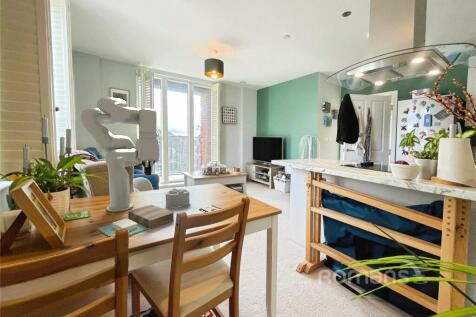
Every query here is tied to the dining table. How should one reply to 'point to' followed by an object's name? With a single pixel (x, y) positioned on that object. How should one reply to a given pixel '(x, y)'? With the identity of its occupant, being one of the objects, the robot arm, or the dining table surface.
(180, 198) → the lumpy-topped squat cylinder
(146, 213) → the block
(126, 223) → the tile
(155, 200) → the dining table surface
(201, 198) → the dining table surface
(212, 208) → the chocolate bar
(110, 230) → the mat
